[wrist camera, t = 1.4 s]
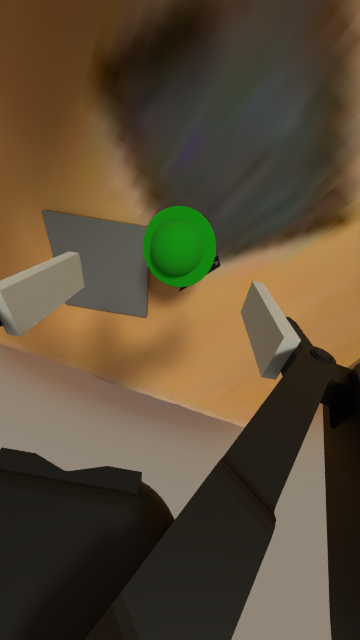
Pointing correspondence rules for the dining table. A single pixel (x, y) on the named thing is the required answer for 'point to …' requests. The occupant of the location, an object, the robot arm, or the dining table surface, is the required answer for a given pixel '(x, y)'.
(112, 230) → the plate
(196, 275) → the toy
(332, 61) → the dining table surface
